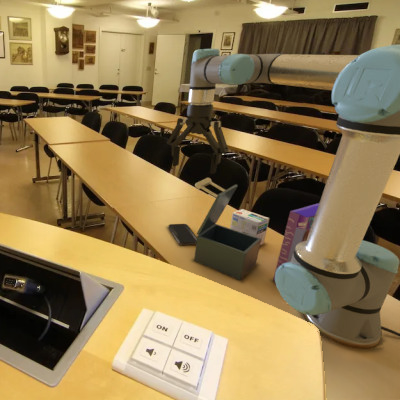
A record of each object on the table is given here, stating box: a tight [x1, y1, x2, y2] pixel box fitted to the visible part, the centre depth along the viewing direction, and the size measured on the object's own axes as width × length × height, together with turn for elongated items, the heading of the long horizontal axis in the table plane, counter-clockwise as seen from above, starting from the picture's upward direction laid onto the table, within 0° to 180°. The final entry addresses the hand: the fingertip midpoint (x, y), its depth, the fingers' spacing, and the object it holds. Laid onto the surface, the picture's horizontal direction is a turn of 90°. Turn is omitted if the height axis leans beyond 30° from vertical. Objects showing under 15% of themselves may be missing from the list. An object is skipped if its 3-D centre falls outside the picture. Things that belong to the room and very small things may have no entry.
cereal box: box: [272, 202, 320, 283], centre depth 95 cm, size 17×5×24 cm, turn 114°
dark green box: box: [193, 223, 261, 281], centre depth 107 cm, size 16×13×10 cm
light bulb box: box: [229, 208, 270, 246], centre depth 120 cm, size 11×7×11 cm, turn 32°
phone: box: [168, 223, 197, 246], centre depth 127 cm, size 8×1×15 cm
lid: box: [194, 177, 239, 236], centre depth 108 cm, size 16×13×10 cm
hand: (193, 169), depth 108 cm, fingers open, 13 cm apart
